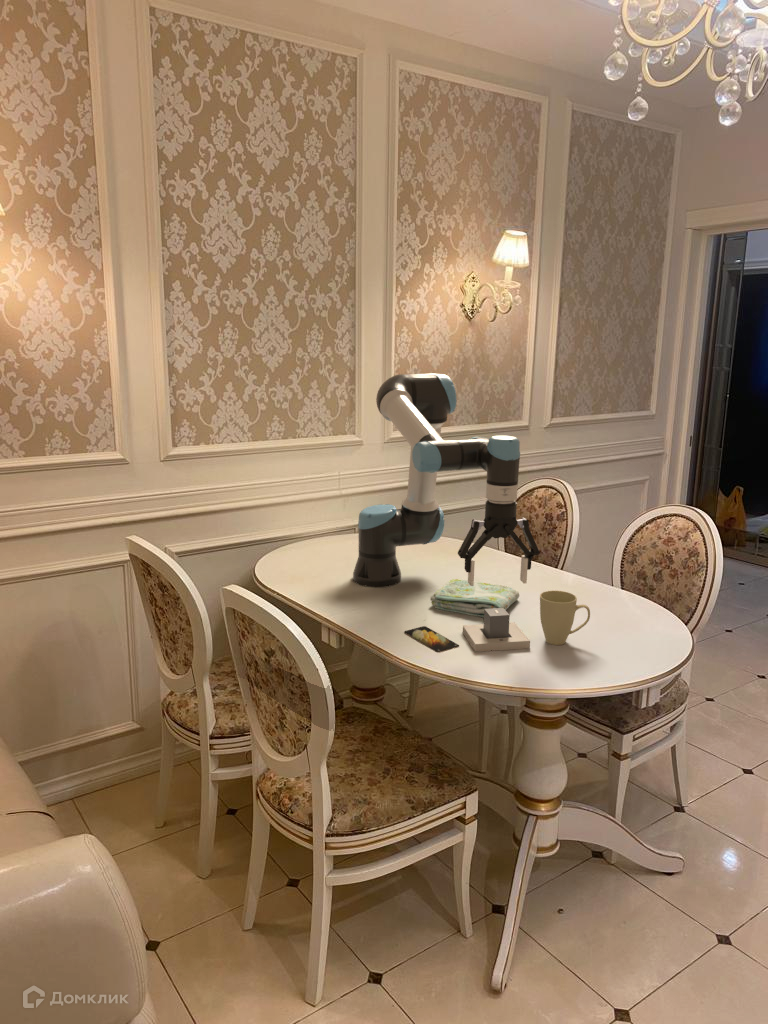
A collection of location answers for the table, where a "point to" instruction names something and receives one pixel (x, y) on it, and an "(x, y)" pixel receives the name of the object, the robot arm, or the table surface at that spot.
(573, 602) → the mug
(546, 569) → the table surface
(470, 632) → the socket plate
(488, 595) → the towel
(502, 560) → the table surface
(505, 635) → the block
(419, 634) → the smartphone
